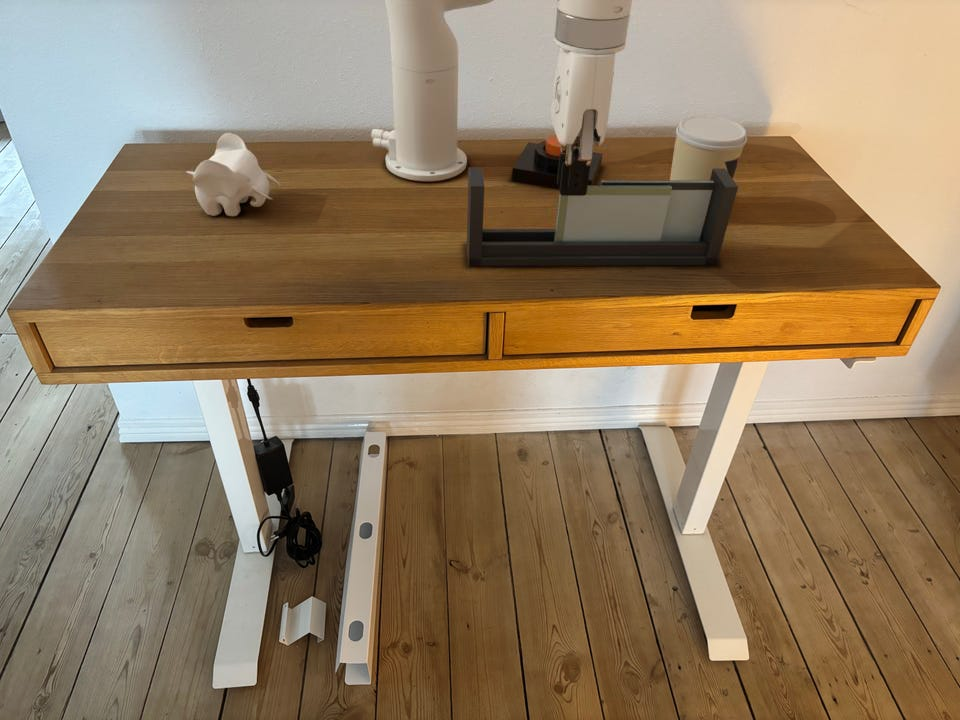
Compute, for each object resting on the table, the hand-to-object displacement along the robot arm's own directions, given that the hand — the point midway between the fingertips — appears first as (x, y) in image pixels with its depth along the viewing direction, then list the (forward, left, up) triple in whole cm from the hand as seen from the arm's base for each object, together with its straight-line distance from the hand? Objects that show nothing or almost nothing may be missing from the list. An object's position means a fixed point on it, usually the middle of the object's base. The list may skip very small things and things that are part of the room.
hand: (571, 189), depth 88 cm
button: (-6, +24, -6) cm, 25 cm away
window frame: (+3, +2, -10) cm, 10 cm away
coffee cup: (+15, +20, -10) cm, 27 cm away
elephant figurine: (-46, -2, -10) cm, 47 cm away
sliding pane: (+5, +2, -8) cm, 10 cm away
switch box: (-6, +24, -10) cm, 26 cm away
